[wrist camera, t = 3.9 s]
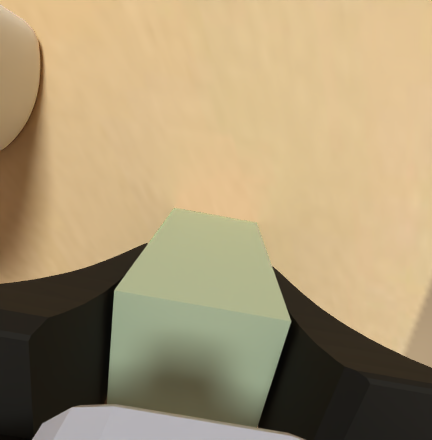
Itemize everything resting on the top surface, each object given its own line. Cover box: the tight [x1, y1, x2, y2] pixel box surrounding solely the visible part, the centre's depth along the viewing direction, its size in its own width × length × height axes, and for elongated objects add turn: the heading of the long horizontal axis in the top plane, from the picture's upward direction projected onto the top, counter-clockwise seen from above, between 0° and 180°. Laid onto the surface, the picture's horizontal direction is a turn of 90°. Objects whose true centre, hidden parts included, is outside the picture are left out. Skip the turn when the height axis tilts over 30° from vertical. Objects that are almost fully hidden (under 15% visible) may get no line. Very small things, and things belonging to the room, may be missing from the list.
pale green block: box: [107, 208, 291, 428], centre depth 10 cm, size 4×4×7 cm
